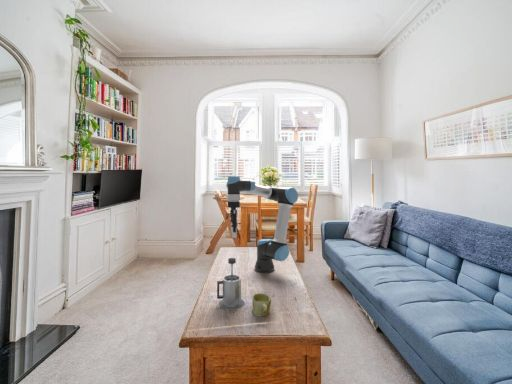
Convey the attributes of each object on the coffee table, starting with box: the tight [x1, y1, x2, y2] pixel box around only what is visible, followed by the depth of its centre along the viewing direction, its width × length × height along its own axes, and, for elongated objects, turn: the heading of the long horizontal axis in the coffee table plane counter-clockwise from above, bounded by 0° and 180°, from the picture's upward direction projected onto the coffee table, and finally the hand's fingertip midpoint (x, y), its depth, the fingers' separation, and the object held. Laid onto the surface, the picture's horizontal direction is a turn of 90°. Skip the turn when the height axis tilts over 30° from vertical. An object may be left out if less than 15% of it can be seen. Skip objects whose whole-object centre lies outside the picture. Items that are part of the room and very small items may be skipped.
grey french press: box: [216, 274, 242, 308], centre depth 137 cm, size 13×10×14 cm
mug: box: [251, 292, 272, 317], centre depth 127 cm, size 12×10×10 cm
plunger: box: [227, 257, 237, 281], centre depth 136 cm, size 7×7×13 cm
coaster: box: [218, 298, 245, 311], centre depth 137 cm, size 14×14×1 cm
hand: (233, 235), depth 156 cm, fingers open, 13 cm apart
